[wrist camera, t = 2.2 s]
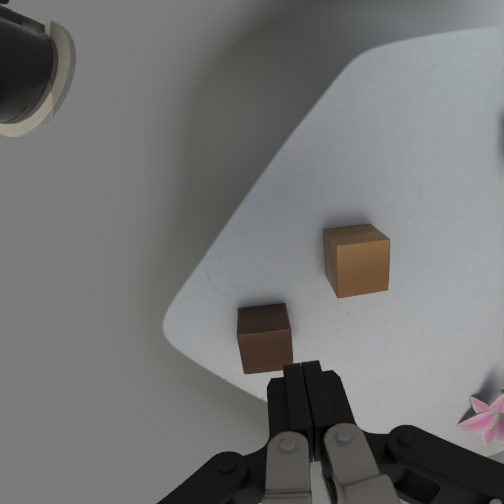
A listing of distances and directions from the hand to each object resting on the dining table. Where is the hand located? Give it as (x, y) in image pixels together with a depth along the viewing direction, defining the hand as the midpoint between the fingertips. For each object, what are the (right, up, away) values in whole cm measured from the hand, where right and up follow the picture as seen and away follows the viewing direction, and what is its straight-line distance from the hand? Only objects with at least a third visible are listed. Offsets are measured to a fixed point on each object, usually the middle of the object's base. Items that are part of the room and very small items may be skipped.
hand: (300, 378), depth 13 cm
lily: (+32, -17, +21) cm, 42 cm away
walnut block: (-1, -1, +15) cm, 15 cm away
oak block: (+6, +5, +13) cm, 15 cm away
